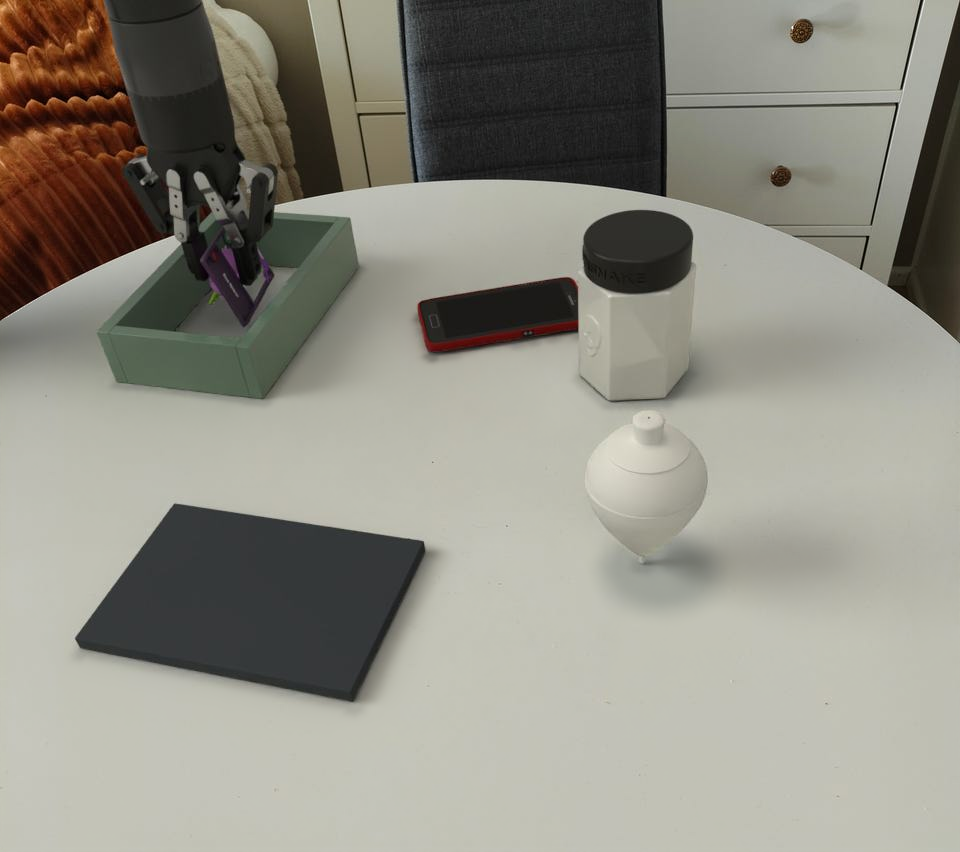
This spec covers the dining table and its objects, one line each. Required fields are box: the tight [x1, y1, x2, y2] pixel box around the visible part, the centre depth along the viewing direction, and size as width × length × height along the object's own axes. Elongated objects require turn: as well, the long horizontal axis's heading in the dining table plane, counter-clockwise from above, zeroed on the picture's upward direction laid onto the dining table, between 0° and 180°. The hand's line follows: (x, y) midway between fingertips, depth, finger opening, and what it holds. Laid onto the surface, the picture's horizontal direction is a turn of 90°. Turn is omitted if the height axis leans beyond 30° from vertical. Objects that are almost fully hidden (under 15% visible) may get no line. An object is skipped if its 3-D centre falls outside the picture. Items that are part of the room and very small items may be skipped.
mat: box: [74, 502, 426, 702], centre depth 71 cm, size 20×14×1 cm
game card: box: [200, 225, 275, 328], centre depth 92 cm, size 7×5×9 cm
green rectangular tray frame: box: [95, 209, 360, 400], centre depth 94 cm, size 14×22×5 cm, turn 163°
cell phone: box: [416, 276, 579, 353], centre depth 92 cm, size 8×15×1 cm, turn 100°
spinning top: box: [584, 409, 709, 565], centre depth 66 cm, size 8×8×12 cm
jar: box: [577, 209, 697, 402], centre depth 81 cm, size 9×8×12 cm
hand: (227, 278), depth 92 cm, fingers closed on game card, 4 cm apart
